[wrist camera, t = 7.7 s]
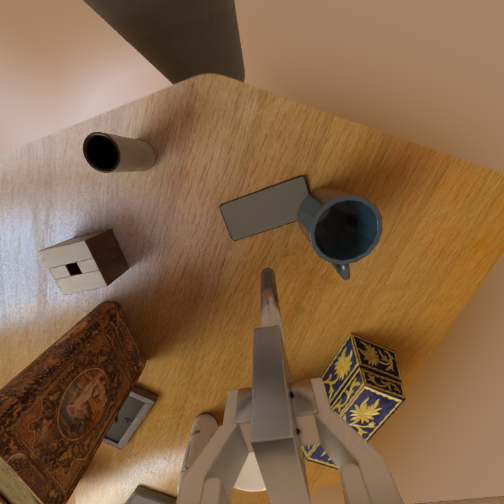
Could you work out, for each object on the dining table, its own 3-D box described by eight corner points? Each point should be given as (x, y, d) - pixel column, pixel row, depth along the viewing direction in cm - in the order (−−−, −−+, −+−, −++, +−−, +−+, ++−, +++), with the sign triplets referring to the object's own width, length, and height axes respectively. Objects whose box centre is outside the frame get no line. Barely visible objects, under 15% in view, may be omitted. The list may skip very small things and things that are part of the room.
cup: (290, 402, 56) (299, 473, 43) (254, 427, 59) (253, 499, 46) (252, 374, 53) (249, 441, 40) (217, 402, 56) (204, 471, 44)
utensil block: (71, 238, 43) (38, 251, 37) (111, 228, 42) (84, 240, 36) (91, 276, 46) (63, 295, 39) (129, 268, 45) (107, 286, 38)
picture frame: (93, 366, 54) (66, 419, 60) (87, 374, 52) (60, 427, 58) (157, 395, 56) (124, 443, 63) (154, 403, 54) (120, 451, 61)
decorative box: (288, 424, 58) (293, 468, 50) (350, 332, 49) (369, 368, 40) (327, 436, 60) (338, 481, 51) (395, 349, 50) (423, 387, 41)
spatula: (256, 255, 23) (249, 442, 7) (270, 252, 23) (293, 437, 7) (264, 290, 25) (273, 514, 9) (278, 288, 24) (312, 510, 9)
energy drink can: (197, 409, 58) (178, 489, 43) (221, 416, 58) (209, 496, 44) (191, 425, 60) (170, 506, 45) (214, 431, 60) (200, 513, 46)
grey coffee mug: (293, 194, 39) (305, 205, 29) (347, 181, 38) (380, 187, 28) (304, 262, 43) (319, 293, 33) (354, 252, 43) (385, 280, 32)
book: (92, 304, 48) (-67, 437, 24) (117, 299, 47) (-22, 431, 24) (124, 365, 53) (19, 523, 30) (147, 362, 53) (57, 519, 29)
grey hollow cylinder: (133, 173, 39) (92, 176, 29) (123, 144, 37) (75, 136, 28) (159, 167, 38) (126, 168, 29) (149, 137, 37) (111, 127, 27)
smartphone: (217, 205, 40) (304, 174, 38) (218, 204, 41) (303, 174, 38) (232, 242, 42) (315, 215, 40) (233, 240, 43) (314, 214, 41)
